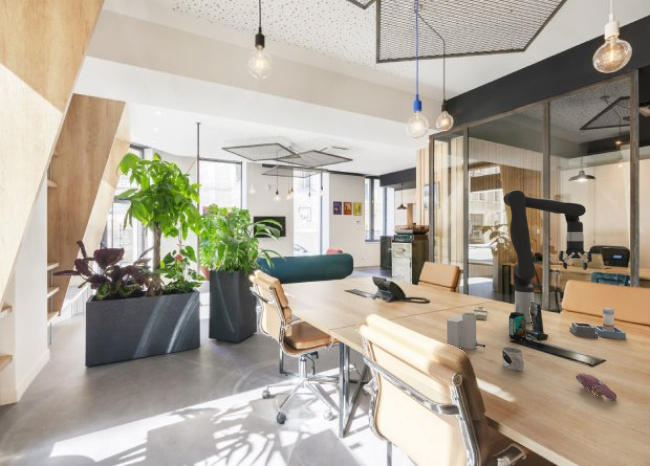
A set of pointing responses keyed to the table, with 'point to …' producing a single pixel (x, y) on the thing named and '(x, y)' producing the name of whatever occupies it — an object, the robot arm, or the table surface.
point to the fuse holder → (583, 330)
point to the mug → (513, 358)
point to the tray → (610, 332)
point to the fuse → (608, 319)
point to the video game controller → (595, 386)
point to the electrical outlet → (481, 312)
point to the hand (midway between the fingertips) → (575, 269)
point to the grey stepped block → (462, 331)
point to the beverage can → (517, 325)
